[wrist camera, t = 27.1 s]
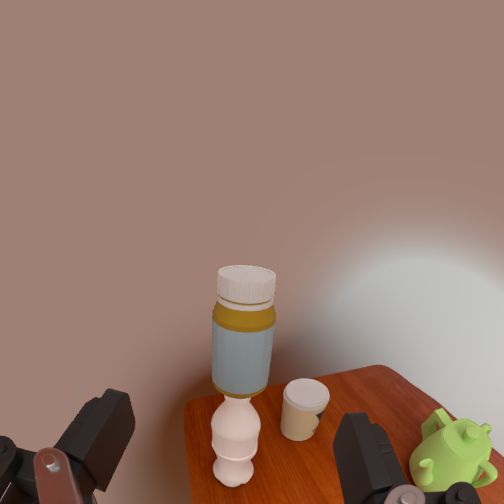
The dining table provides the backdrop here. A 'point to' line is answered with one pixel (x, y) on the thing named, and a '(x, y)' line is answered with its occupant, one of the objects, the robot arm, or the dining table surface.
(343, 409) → the dining table surface
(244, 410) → the water bottle
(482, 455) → the teapot
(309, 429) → the coffee cup
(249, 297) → the bottle
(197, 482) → the dining table surface
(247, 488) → the dining table surface
